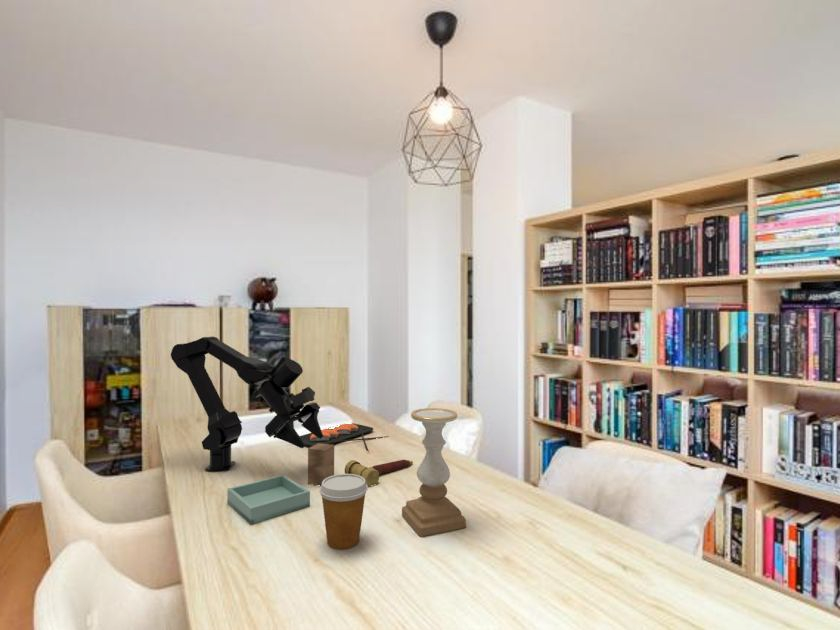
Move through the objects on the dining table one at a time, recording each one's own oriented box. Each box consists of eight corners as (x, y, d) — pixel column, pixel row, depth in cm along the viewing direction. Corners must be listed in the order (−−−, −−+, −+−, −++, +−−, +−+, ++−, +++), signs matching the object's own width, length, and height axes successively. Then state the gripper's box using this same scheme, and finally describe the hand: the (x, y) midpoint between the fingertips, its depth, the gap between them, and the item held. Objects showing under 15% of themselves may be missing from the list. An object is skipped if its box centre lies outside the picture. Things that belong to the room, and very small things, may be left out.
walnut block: (307, 484, 120) (308, 448, 120) (317, 477, 125) (318, 443, 124) (324, 486, 118) (324, 450, 118) (334, 479, 123) (334, 445, 123)
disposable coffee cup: (375, 534, 94) (375, 476, 94) (353, 558, 85) (354, 494, 85) (334, 526, 97) (334, 470, 97) (309, 548, 88) (309, 487, 88)
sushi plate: (349, 427, 180) (349, 417, 180) (409, 440, 162) (409, 430, 162) (288, 444, 156) (289, 433, 156) (352, 462, 139) (352, 450, 139)
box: (227, 503, 108) (227, 488, 108) (283, 488, 117) (283, 474, 117) (250, 524, 97) (250, 508, 97) (309, 506, 107) (309, 491, 106)
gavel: (401, 450, 139) (424, 458, 132) (401, 465, 139) (423, 474, 132) (344, 461, 125) (366, 471, 118) (343, 478, 125) (365, 488, 118)
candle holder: (400, 514, 103) (401, 409, 102) (444, 507, 107) (445, 405, 107) (419, 537, 93) (421, 420, 92) (467, 527, 97) (468, 416, 96)
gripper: (274, 384, 115) (313, 431, 111) (314, 374, 132) (348, 415, 129) (248, 413, 117) (285, 460, 114) (290, 399, 135) (323, 440, 132)
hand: (313, 442), depth 122 cm, fingers open, 9 cm apart
